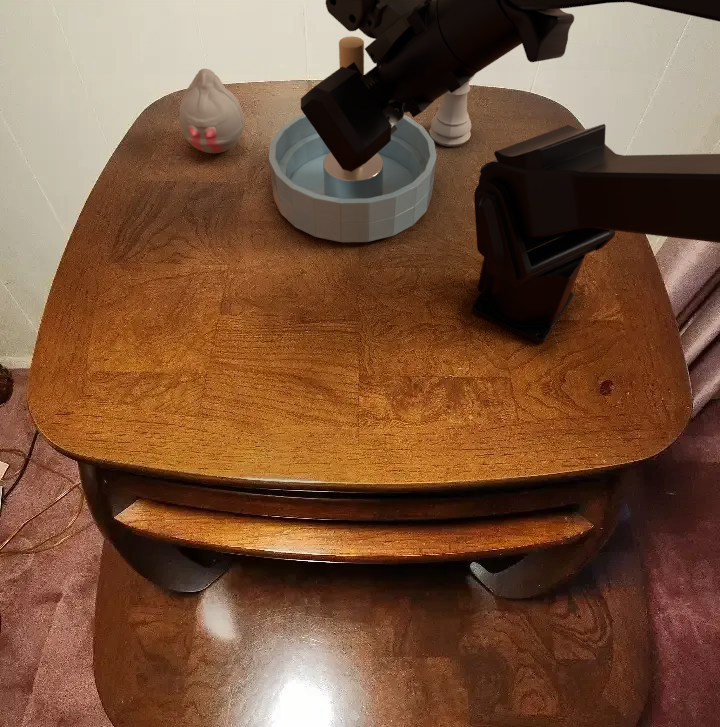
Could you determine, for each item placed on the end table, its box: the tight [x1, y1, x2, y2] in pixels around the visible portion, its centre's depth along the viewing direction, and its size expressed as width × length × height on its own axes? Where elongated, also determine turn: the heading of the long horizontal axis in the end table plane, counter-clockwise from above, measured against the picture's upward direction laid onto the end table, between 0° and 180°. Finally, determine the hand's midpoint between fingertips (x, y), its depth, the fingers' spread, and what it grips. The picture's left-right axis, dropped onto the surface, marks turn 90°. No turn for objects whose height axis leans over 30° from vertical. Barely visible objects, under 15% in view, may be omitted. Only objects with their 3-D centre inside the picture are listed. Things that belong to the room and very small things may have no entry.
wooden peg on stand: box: [323, 35, 383, 199], centre depth 54 cm, size 6×6×14 cm
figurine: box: [179, 68, 246, 154], centre depth 62 cm, size 6×7×8 cm
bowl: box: [268, 113, 437, 243], centre depth 59 cm, size 15×15×5 cm
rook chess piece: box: [429, 75, 475, 148], centre depth 63 cm, size 4×4×8 cm
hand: (339, 122), depth 55 cm, fingers closed on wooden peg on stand, 2 cm apart
